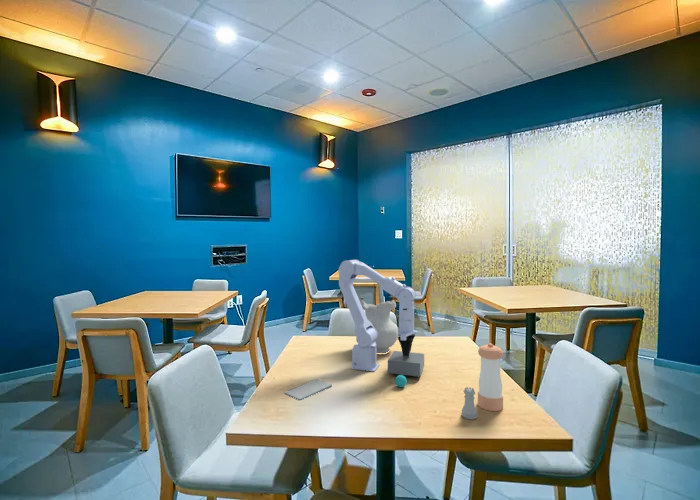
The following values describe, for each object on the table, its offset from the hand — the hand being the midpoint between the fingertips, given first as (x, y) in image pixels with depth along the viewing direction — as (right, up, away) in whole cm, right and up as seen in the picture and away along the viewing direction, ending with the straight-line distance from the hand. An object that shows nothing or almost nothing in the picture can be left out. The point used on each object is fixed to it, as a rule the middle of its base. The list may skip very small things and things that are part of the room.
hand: (406, 354), depth 135 cm
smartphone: (-36, -8, -15) cm, 40 cm away
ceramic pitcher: (-10, -7, +29) cm, 31 cm away
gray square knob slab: (0, -6, 0) cm, 6 cm away
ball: (-4, -6, -13) cm, 15 cm away
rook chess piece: (+13, -8, -34) cm, 37 cm away
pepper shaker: (+21, -8, -27) cm, 36 cm away
